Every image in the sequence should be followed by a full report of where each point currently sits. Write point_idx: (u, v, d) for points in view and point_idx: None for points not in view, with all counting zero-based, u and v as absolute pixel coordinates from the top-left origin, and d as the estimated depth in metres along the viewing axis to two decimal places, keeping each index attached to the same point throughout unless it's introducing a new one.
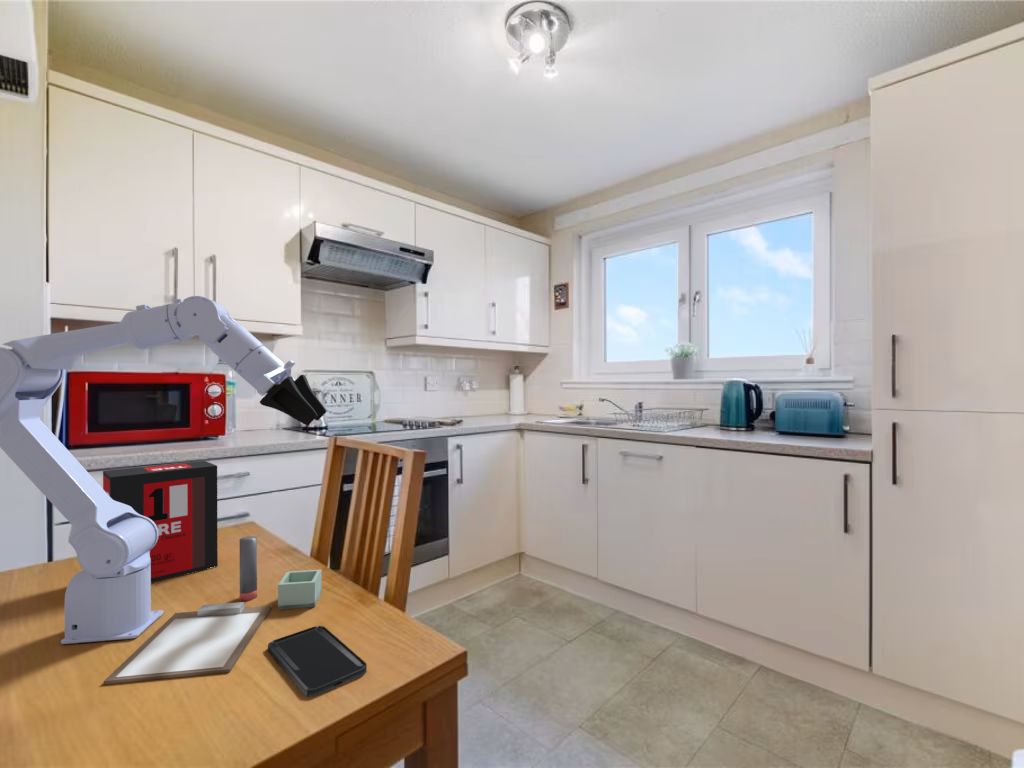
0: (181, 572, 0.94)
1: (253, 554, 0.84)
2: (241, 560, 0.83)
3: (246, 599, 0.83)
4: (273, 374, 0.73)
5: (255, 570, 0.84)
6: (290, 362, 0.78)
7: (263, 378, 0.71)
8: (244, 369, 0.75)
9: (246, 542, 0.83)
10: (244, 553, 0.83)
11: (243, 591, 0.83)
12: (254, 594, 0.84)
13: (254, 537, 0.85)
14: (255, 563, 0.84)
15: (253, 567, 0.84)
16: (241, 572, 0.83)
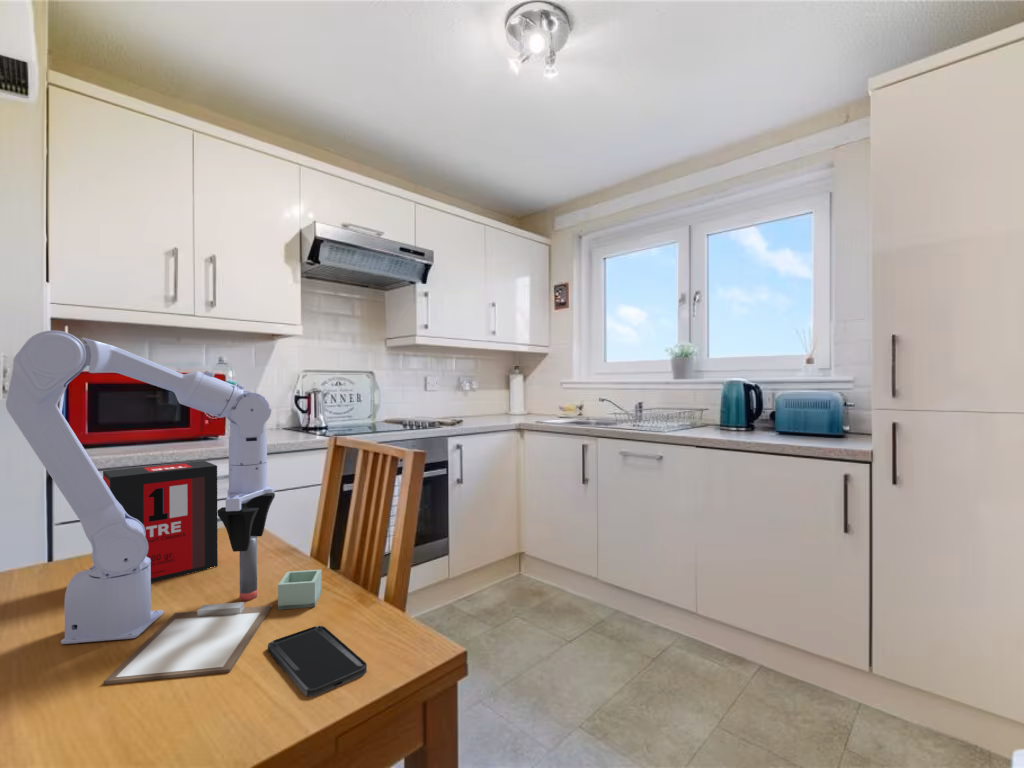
0: (181, 572, 0.94)
1: (253, 554, 0.84)
2: (241, 560, 0.83)
3: (246, 599, 0.83)
4: (247, 498, 0.80)
5: (255, 570, 0.84)
6: (270, 491, 0.84)
7: (236, 501, 0.77)
8: (234, 472, 0.82)
9: None
10: (244, 553, 0.83)
11: (243, 591, 0.83)
12: (254, 594, 0.84)
13: (254, 537, 0.85)
14: (255, 563, 0.84)
15: (252, 567, 0.84)
16: (241, 572, 0.83)
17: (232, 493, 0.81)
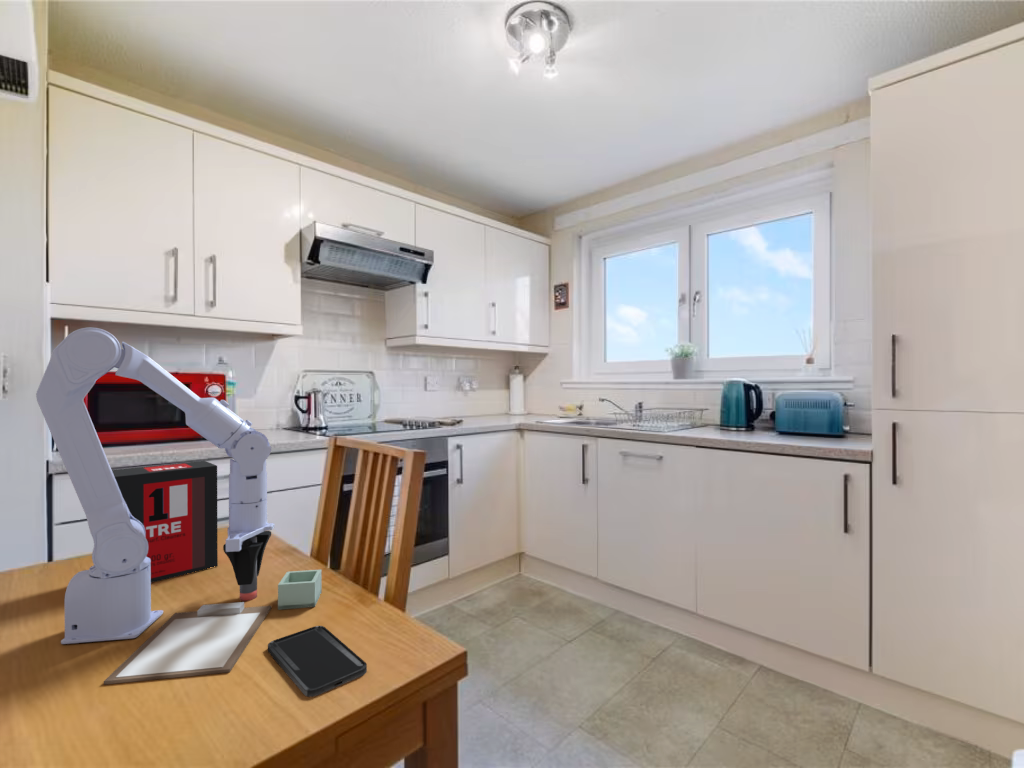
0: (181, 572, 0.94)
1: None
2: None
3: (246, 599, 0.83)
4: (247, 537, 0.80)
5: (255, 570, 0.84)
6: (270, 528, 0.84)
7: (236, 542, 0.77)
8: (234, 510, 0.82)
9: None
10: None
11: (243, 591, 0.83)
12: (254, 594, 0.84)
13: (254, 537, 0.85)
14: None
15: None
16: None
17: (232, 531, 0.82)
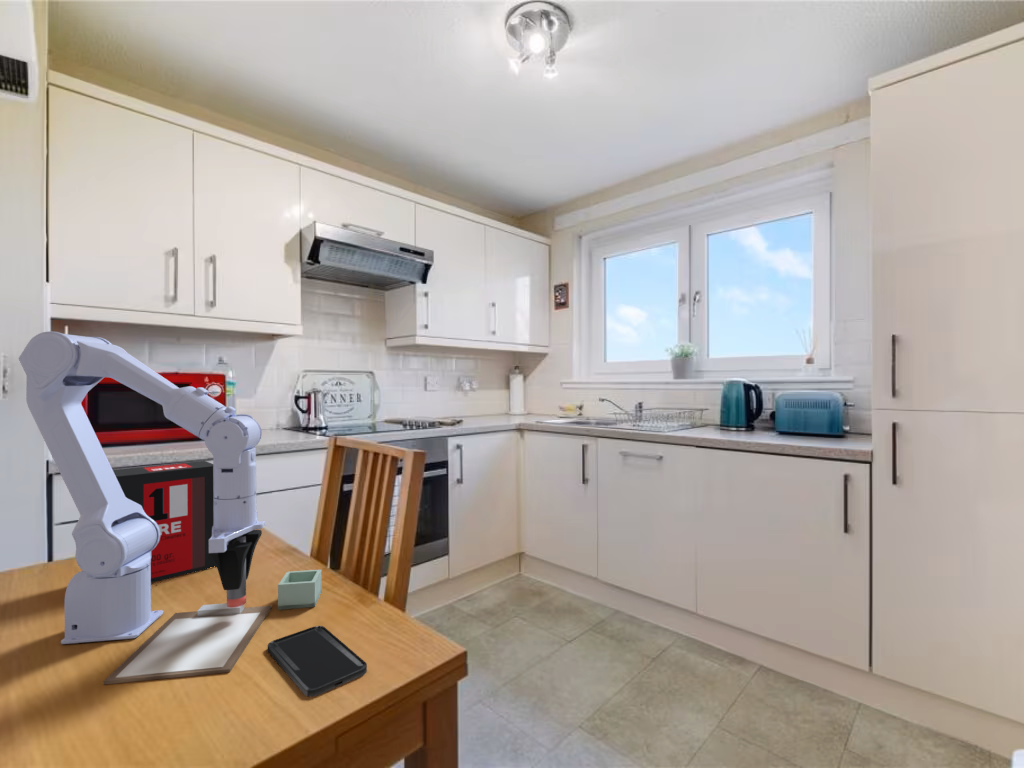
0: (181, 572, 0.94)
1: None
2: None
3: (234, 606, 0.75)
4: (234, 537, 0.71)
5: (244, 573, 0.76)
6: (260, 526, 0.75)
7: (220, 542, 0.69)
8: (219, 507, 0.73)
9: None
10: None
11: (230, 597, 0.74)
12: (243, 600, 0.75)
13: (243, 536, 0.76)
14: (244, 565, 0.76)
15: None
16: None
17: (217, 530, 0.73)
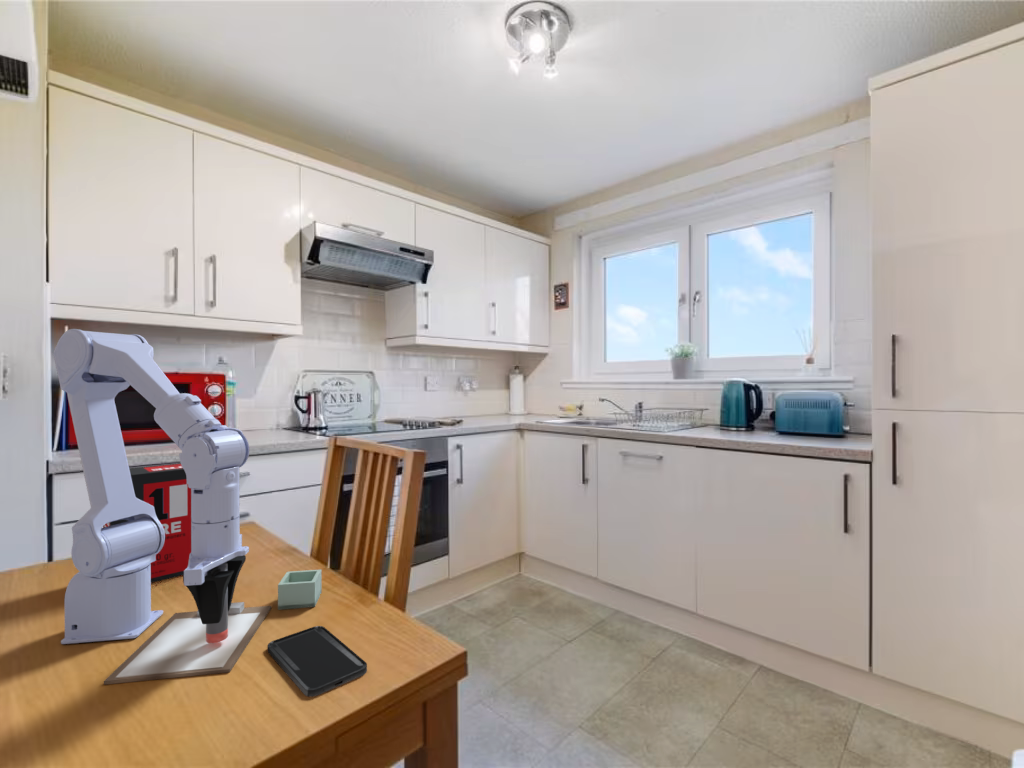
0: (181, 572, 0.94)
1: None
2: None
3: (214, 641, 0.67)
4: (213, 566, 0.64)
5: (225, 605, 0.68)
6: (243, 553, 0.68)
7: (197, 573, 0.61)
8: (197, 532, 0.66)
9: None
10: None
11: (210, 631, 0.67)
12: (224, 634, 0.68)
13: (224, 564, 0.69)
14: (225, 595, 0.68)
15: None
16: None
17: (195, 558, 0.66)
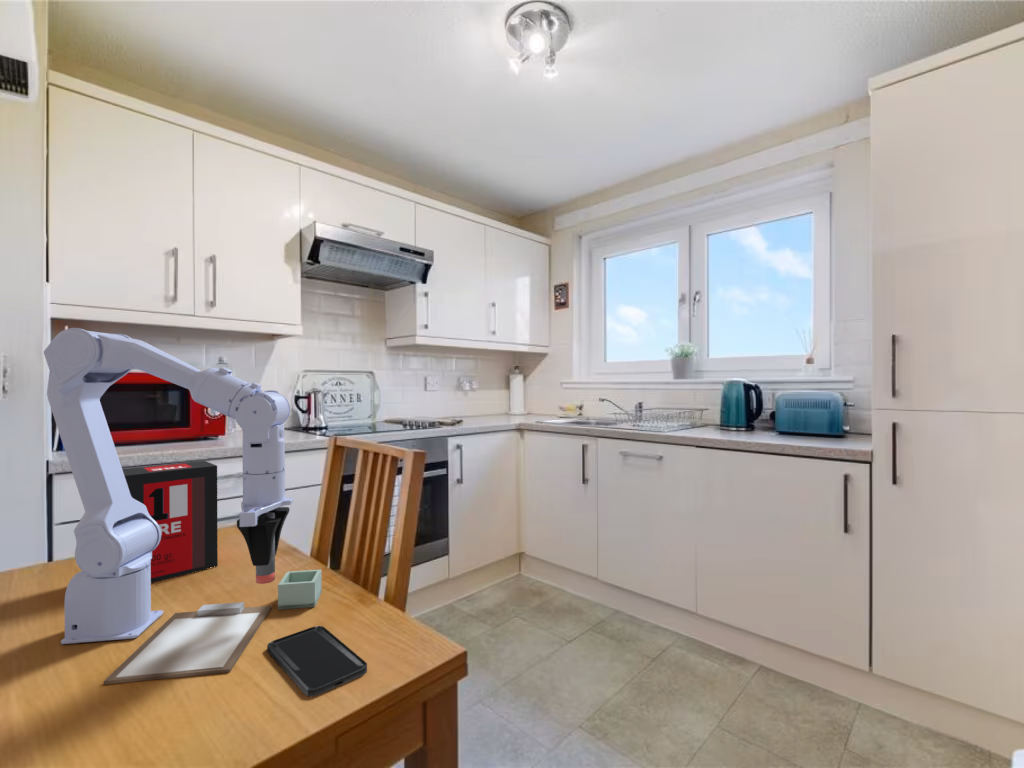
0: (181, 572, 0.94)
1: None
2: None
3: (263, 582, 0.74)
4: (264, 511, 0.71)
5: (273, 550, 0.75)
6: (289, 502, 0.75)
7: (251, 515, 0.68)
8: (249, 482, 0.73)
9: None
10: None
11: (260, 573, 0.74)
12: (272, 577, 0.75)
13: (271, 513, 0.76)
14: (273, 541, 0.75)
15: None
16: None
17: (246, 505, 0.72)
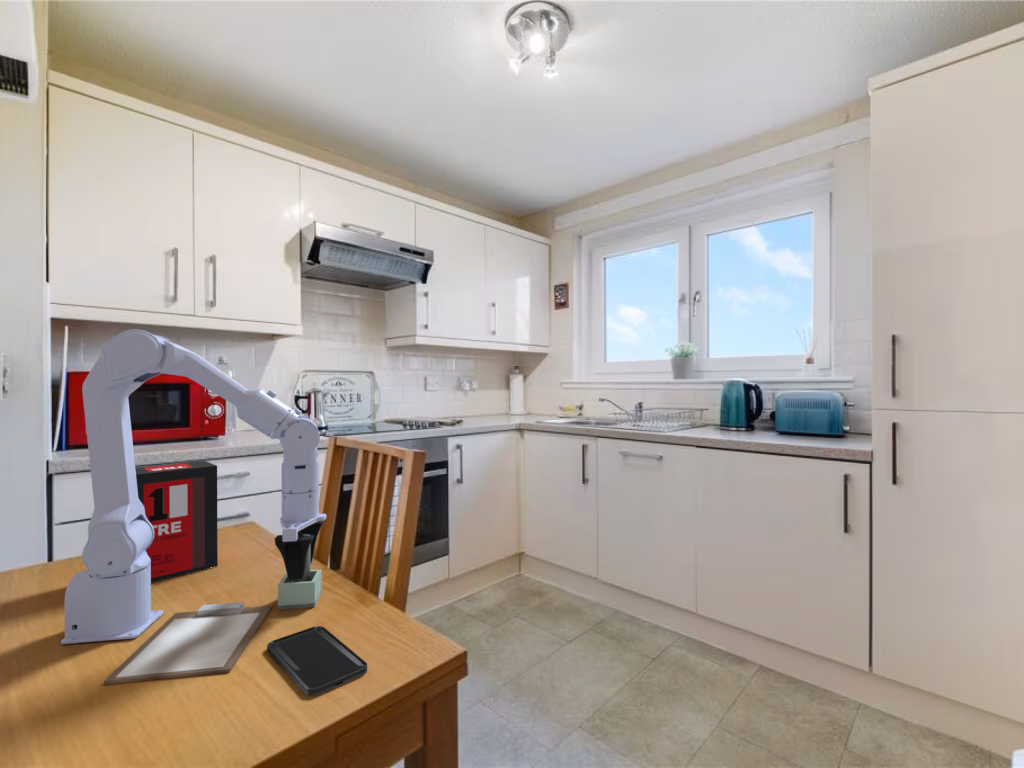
0: (181, 572, 0.94)
1: None
2: None
3: None
4: (302, 527, 0.79)
5: (309, 569, 0.83)
6: (323, 518, 0.83)
7: (293, 531, 0.76)
8: (288, 500, 0.80)
9: None
10: None
11: None
12: None
13: (308, 535, 0.84)
14: (309, 561, 0.83)
15: (307, 565, 0.83)
16: None
17: (286, 521, 0.80)
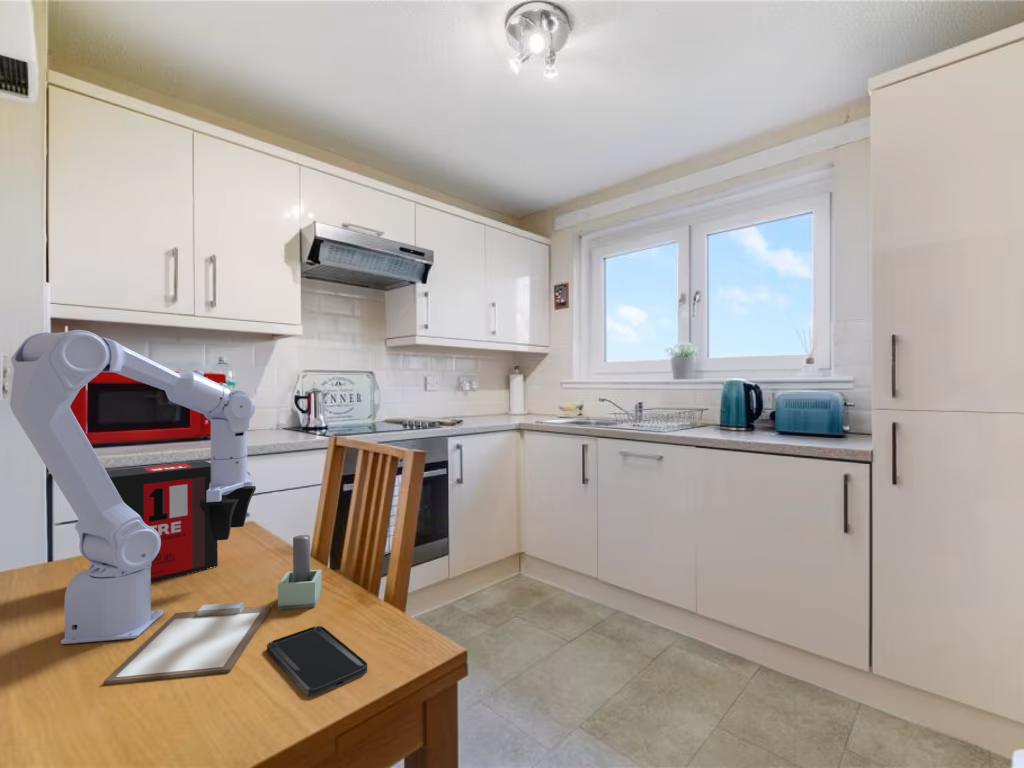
0: (181, 572, 0.94)
1: (307, 553, 0.83)
2: (295, 559, 0.82)
3: None
4: (227, 490, 0.85)
5: (308, 569, 0.83)
6: (250, 483, 0.89)
7: (216, 492, 0.82)
8: (216, 465, 0.87)
9: (300, 541, 0.82)
10: (298, 552, 0.82)
11: None
12: None
13: (307, 536, 0.84)
14: (309, 562, 0.83)
15: (306, 566, 0.82)
16: (295, 571, 0.82)
17: (213, 485, 0.86)
